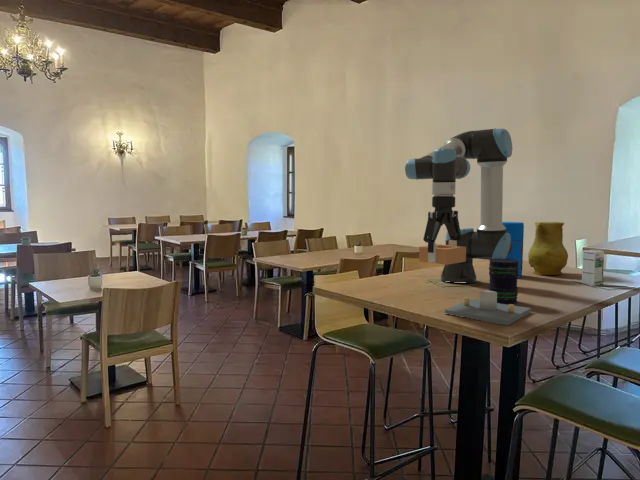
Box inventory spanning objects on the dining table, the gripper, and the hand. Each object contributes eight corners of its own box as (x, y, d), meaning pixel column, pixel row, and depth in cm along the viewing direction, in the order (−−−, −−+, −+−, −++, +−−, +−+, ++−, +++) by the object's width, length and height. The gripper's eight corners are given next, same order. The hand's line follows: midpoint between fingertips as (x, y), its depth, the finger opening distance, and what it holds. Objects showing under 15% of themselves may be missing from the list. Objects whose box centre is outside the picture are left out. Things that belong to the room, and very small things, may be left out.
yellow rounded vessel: (520, 271, 235) (522, 221, 232) (555, 270, 237) (557, 220, 234) (539, 277, 218) (542, 223, 215) (577, 276, 220) (580, 222, 217)
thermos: (519, 278, 215) (521, 223, 213) (495, 276, 221) (496, 222, 218) (523, 275, 224) (525, 222, 222) (499, 273, 230) (501, 221, 228)
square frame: (419, 261, 161) (419, 246, 161) (438, 258, 168) (438, 244, 168) (446, 264, 153) (447, 249, 152) (465, 261, 160) (466, 246, 160)
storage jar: (523, 303, 167) (525, 261, 165) (499, 305, 164) (501, 262, 162) (505, 297, 176) (506, 257, 175) (482, 299, 173) (483, 259, 172)
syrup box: (593, 285, 198) (595, 251, 196) (581, 283, 203) (582, 249, 202) (603, 284, 200) (604, 250, 198) (590, 282, 205) (591, 249, 204)
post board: (444, 314, 153) (445, 292, 152) (471, 303, 167) (472, 283, 167) (507, 325, 139) (508, 302, 139) (530, 312, 154) (531, 291, 153)
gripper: (432, 195, 148) (430, 265, 150) (472, 195, 163) (471, 258, 165) (412, 195, 154) (411, 262, 156) (453, 195, 169) (452, 256, 171)
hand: (442, 260), depth 161 cm, fingers closed on square frame, 11 cm apart
